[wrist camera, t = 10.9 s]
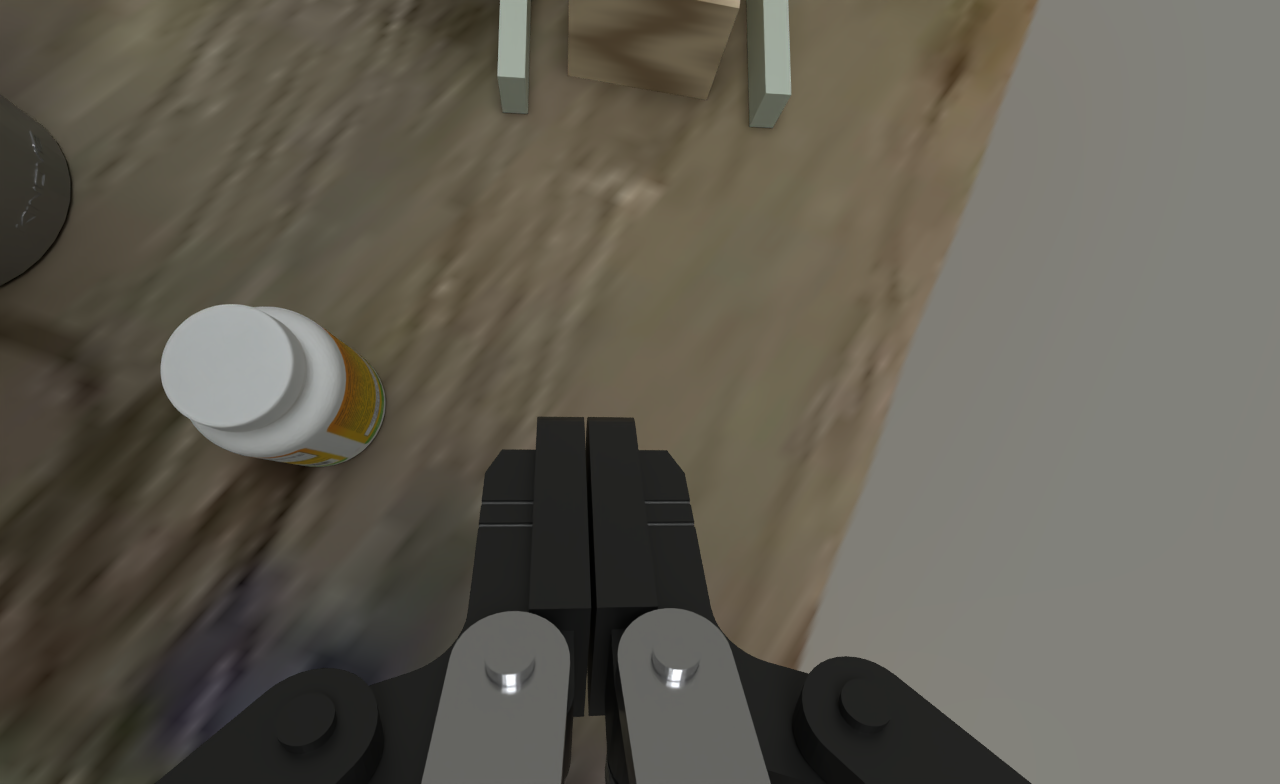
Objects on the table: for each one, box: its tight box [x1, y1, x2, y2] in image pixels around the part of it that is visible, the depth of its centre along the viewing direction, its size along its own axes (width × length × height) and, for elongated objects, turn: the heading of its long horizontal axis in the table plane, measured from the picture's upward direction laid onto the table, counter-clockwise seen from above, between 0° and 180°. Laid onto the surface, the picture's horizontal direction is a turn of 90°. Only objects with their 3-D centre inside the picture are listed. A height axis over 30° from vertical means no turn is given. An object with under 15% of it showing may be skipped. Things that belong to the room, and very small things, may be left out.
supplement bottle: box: [161, 304, 385, 467], centre depth 28 cm, size 5×5×10 cm
